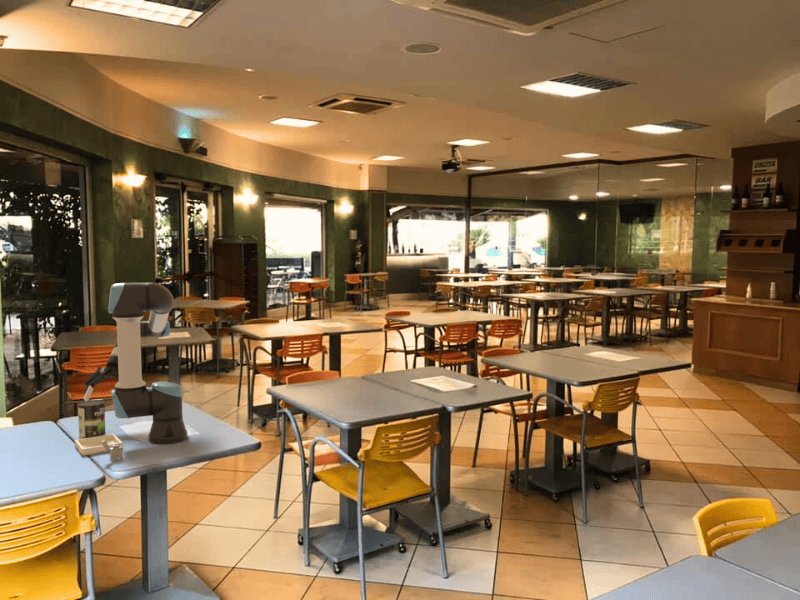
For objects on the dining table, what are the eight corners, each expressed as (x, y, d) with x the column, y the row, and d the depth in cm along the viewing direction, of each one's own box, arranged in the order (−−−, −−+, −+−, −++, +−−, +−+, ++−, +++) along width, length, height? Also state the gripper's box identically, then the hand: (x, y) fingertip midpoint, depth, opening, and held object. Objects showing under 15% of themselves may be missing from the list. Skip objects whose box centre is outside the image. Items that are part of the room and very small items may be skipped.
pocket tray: (122, 449, 263) (122, 442, 263) (82, 455, 254) (82, 449, 254) (113, 440, 275) (113, 433, 275) (74, 446, 266) (74, 439, 266)
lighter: (121, 457, 253) (120, 436, 252) (122, 458, 252) (121, 437, 251) (101, 461, 249) (100, 440, 248) (102, 462, 247) (101, 441, 247)
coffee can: (111, 433, 284) (110, 400, 283) (95, 440, 274) (94, 406, 273) (89, 431, 286) (88, 399, 285) (73, 438, 276) (71, 405, 275)
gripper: (147, 365, 301) (131, 406, 288) (95, 363, 305) (77, 404, 291) (141, 355, 296) (123, 397, 282) (88, 354, 299) (69, 395, 286)
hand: (100, 400), depth 287 cm, fingers open, 13 cm apart
